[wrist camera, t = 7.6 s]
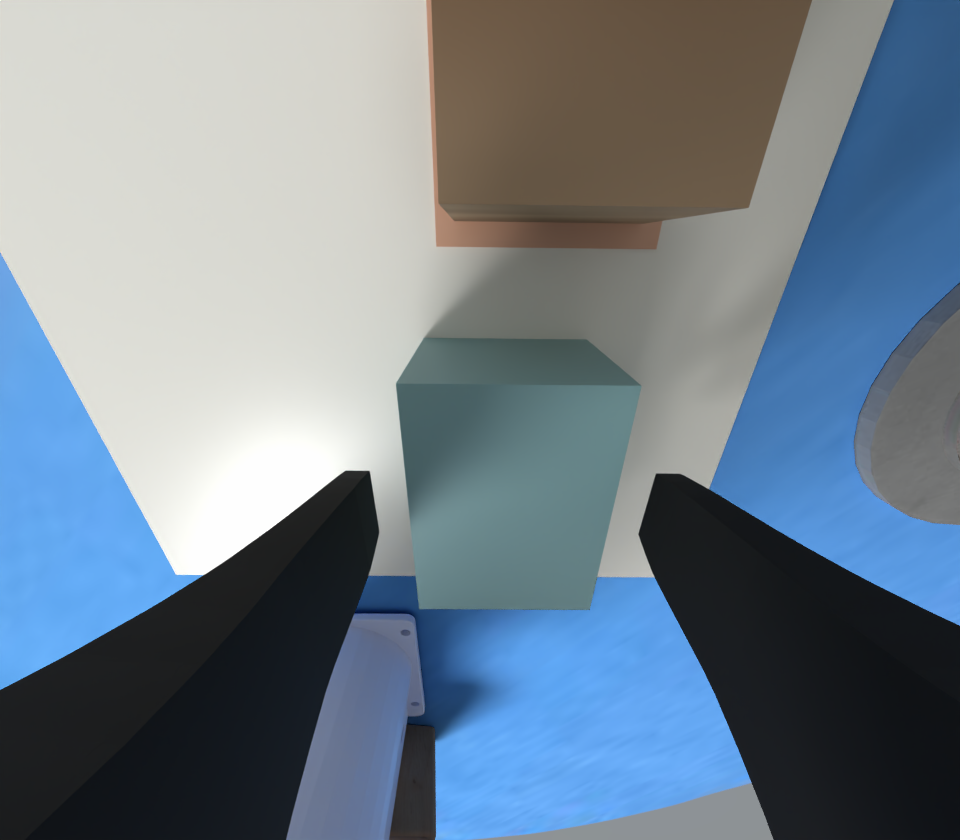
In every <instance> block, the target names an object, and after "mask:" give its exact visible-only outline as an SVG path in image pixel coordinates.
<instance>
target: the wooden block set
mask: <svg viewBox="0 0 960 840" xmlns="http://www.w3.org/2000/svg"><path fill="white" fill-rule="evenodd" d="M435 837H436V793H435V729H434V727H431V726H421V725H410V724H407V725H406V731H405V738H404V745H403V751H402V758H401V764H400V771H399V777H398V784H397V791H396V797H395V804H394V810H393V817H392V823H391V830H390V837H389V840H435Z"/></svg>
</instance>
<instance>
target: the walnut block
mask: <svg viewBox="0 0 960 840" xmlns="http://www.w3.org/2000/svg"><path fill="white" fill-rule="evenodd" d="M811 2H812V0H431V8H432V36H433V64H434V92H435V120H436V148H437V176H438V204H439V205H440V206H441V207H442V208H443V209H444V210H445V211H446V212H447V214H448V215H449V216H450V217H451V218H452V219H453V220H454V221H479V222H554V223H629V224H645V223H651V222H658V221H665V220H671V219H678V218H685V217H691V216H698V215H705V214H711V213H718V212H725V211H731V210H738V209H745V208H749V205H750V202H751V199H752V195H753V192H754V189H755V186H756V182H757V179H758V176H759V173H760V169H761V166H762V163H763V159H764V156H765V153H766V150H767V146H768V143H769V140H770V137H771V133H772V130H773V127H774V123H775V120H776V117H777V114H778V110H779V107H780V104H781V101H782V97H783V94H784V91H785V87H786V84H787V81H788V78H789V74H790V71H791V68H792V65H793V61H794V58H795V55H796V51H797V48H798V45H799V42H800V38H801V35H802V32H803V29H804V25H805V22H806V19H807V15H808V12H809V9H810V6H811Z"/></svg>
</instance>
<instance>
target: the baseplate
mask: <svg viewBox="0 0 960 840" xmlns="http://www.w3.org/2000/svg"><path fill="white" fill-rule="evenodd" d="M893 1H894V0H812V2H811V6H810V9H809V12H808V15H807V19H806V22H805V25H804V29H803V32H802V35H801V38H800V42H799V45H798V48H797V51H796V55H795V58H794V61H793V65H792V68H791V71H790V74H789V78H788V81H787V84H786V87H785V91H784V94H783V97H782V101H781V104H780V107H779V110H778V114H777V117H776V120H775V123H774V127H773V130H772V133H771V137H770V140H769V143H768V146H767V150H766V153H765V156H764V159H763V163H762V166H761V169H760V173H759V176H758V179H757V182H756V186H755V189H754V192H753V195H752V199H751V202H750V205H749V208H745V209H738V210H731V211H725V212H718V213H711V214H705V215H698V216H691V217H685V218H678V219H671V220H665V221H658V222H651V223H645V224H629V223H554V222H479V221H454V220H453V219H452V218H451V217H450V216H449V215H448V214H447V212H446V211H445V210H444V209H443V208H442V207H441V206H440V205H439V204H438V176H437V148H436V120H435V92H434V64H433V36H432V8H431V0H0V252H1V254H2V256H3V258H4V260H5V261H6V263H7V265H8V267H9V269H10V271H11V272H12V274H13V276H14V278H15V280H16V282H17V284H18V285H19V287H20V289H21V291H22V293H23V295H24V296H25V298H26V300H27V302H28V304H29V306H30V307H31V309H32V311H33V313H34V315H35V317H36V318H37V320H38V322H39V324H40V326H41V328H42V329H43V331H44V333H45V335H46V337H47V339H48V340H49V342H50V344H51V346H52V348H53V350H54V351H55V353H56V355H57V357H58V359H59V361H60V362H61V364H62V366H63V368H64V370H65V372H66V373H67V375H68V377H69V379H70V381H71V383H72V384H73V386H74V388H75V390H76V392H77V394H78V395H79V397H80V399H81V401H82V403H83V405H84V406H85V408H86V410H87V412H88V414H89V416H90V417H91V419H92V421H93V423H94V425H95V427H96V428H97V430H98V432H99V434H100V436H101V438H102V439H103V441H104V443H105V445H106V447H107V449H108V450H109V452H110V454H111V456H112V458H113V460H114V461H115V463H116V465H117V467H118V469H119V471H120V472H121V474H122V476H123V478H124V480H125V482H126V483H127V485H128V487H129V489H130V491H131V493H132V494H133V496H134V498H135V500H136V502H137V504H138V505H139V507H140V509H141V511H142V513H143V515H144V516H145V518H146V520H147V522H148V524H149V526H150V527H151V529H152V531H153V533H154V535H155V537H156V538H157V540H158V542H159V544H160V546H161V548H162V549H163V551H164V553H165V555H166V557H167V559H168V560H169V562H170V564H171V566H172V568H173V570H174V572H175V573H176V575H205V574H206V573H208V572H209V571H211V570H212V569H214V568H215V567H217V566H218V565H220V564H221V563H223V562H224V561H226V560H227V559H229V558H230V557H232V556H233V555H234V554H236V553H237V552H239V551H240V550H241V549H243V548H244V547H246V546H247V545H248V544H250V543H251V542H252V541H254V540H255V539H257V538H258V537H259V536H261V535H262V534H264V533H265V532H266V531H268V530H269V529H271V528H272V527H273V526H275V525H276V524H277V523H279V522H280V521H281V520H283V519H284V518H285V517H286V516H288V515H289V514H290V513H292V512H293V511H294V510H295V509H297V508H298V507H299V506H301V505H302V504H303V503H304V502H306V501H307V500H308V499H309V498H311V497H312V496H313V495H315V494H316V493H317V492H318V491H320V490H321V489H322V488H323V487H325V486H326V485H327V484H328V483H330V482H331V481H332V480H333V479H335V478H336V477H337V476H339V475H340V474H341V473H343V472H344V471H370V475H371V482H372V488H373V494H374V500H375V507H376V513H377V519H378V525H379V537H378V541H377V545H376V550H375V554H374V558H373V562H372V566H371V570H370V572H369V575H368V576H416V575H415V565H414V555H413V546H412V536H411V526H410V517H409V507H408V497H407V488H406V478H405V468H404V458H403V449H402V439H401V429H400V420H399V410H398V400H397V391H396V382H397V381H398V379H399V377H400V376H401V374H402V373H403V371H404V369H405V368H406V366H407V364H408V363H409V361H410V360H411V358H412V356H413V355H414V353H415V351H416V350H417V348H418V347H419V345H420V343H421V342H422V340H423V338H495V339H587V340H588V341H589V342H590V343H592V344H593V345H594V346H595V347H596V348H598V349H599V350H600V351H601V352H602V353H603V354H605V355H606V356H607V357H608V358H609V359H611V360H612V361H613V362H614V363H615V364H616V365H618V366H619V367H620V368H621V369H622V370H624V371H625V372H626V373H627V374H628V375H629V376H631V377H632V378H633V379H634V380H635V381H637V382H638V383H639V384H640V385H641V386H642V387H641V391H640V395H639V400H638V404H637V408H636V413H635V417H634V421H633V425H632V430H631V434H630V438H629V443H628V447H627V451H626V456H625V460H624V464H623V468H622V473H621V477H620V481H619V486H618V490H617V494H616V498H615V503H614V507H613V511H612V516H611V520H610V524H609V528H608V533H607V537H606V541H605V546H604V550H603V554H602V559H601V563H600V567H599V571H598V576H597V577H654V575H653V573H652V570H651V568H650V565H649V563H648V560H647V558H646V555H645V552H644V549H643V546H642V544H641V541H640V538H639V535H638V533H639V530H640V526H641V523H642V519H643V516H644V513H645V509H646V506H647V502H648V499H649V495H650V492H651V488H652V485H653V482H654V478H655V475H656V473H668V474H682V475H684V476H686V477H688V478H690V479H692V480H693V481H695V482H697V483H699V484H701V485H702V486H704V487H706V488H707V489H709V487H710V485H711V482H712V480H713V477H714V474H715V472H716V469H717V466H718V464H719V461H720V458H721V456H722V453H723V450H724V448H725V445H726V443H727V440H728V437H729V435H730V432H731V429H732V427H733V424H734V421H735V419H736V416H737V413H738V411H739V408H740V406H741V403H742V400H743V398H744V395H745V392H746V390H747V387H748V384H749V382H750V379H751V377H752V374H753V371H754V369H755V366H756V363H757V361H758V358H759V355H760V353H761V350H762V347H763V345H764V342H765V340H766V337H767V334H768V332H769V329H770V326H771V324H772V321H773V318H774V316H775V313H776V310H777V308H778V305H779V303H780V300H781V297H782V295H783V292H784V289H785V287H786V284H787V281H788V279H789V276H790V273H791V271H792V268H793V266H794V263H795V260H796V258H797V255H798V252H799V250H800V247H801V244H802V242H803V239H804V236H805V234H806V231H807V229H808V226H809V223H810V221H811V218H812V215H813V213H814V210H815V207H816V205H817V202H818V199H819V197H820V194H821V192H822V189H823V186H824V184H825V181H826V178H827V176H828V173H829V170H830V168H831V165H832V162H833V160H834V157H835V155H836V152H837V149H838V147H839V144H840V141H841V139H842V136H843V133H844V131H845V128H846V125H847V123H848V120H849V118H850V115H851V112H852V110H853V107H854V104H855V102H856V99H857V96H858V94H859V91H860V88H861V86H862V83H863V81H864V78H865V75H866V73H867V70H868V67H869V65H870V62H871V59H872V57H873V54H874V51H875V49H876V46H877V44H878V41H879V38H880V36H881V33H882V30H883V28H884V25H885V22H886V20H887V17H888V14H889V12H890V9H891V7H892V4H893Z"/></svg>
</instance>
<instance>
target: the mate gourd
mask: <svg viewBox="0 0 960 840" xmlns="http://www.w3.org/2000/svg"><path fill="white" fill-rule="evenodd" d="M854 449H855V463H856V466H857V469H858V471H859V473H860V476H861V478H862V481H863V483H864V484H865V485H866V486H867V487H868V488H869V489H870V490H871V491H872V492H873V494H874V495H875V496H876V497H878V498H879V499H881V500H883V501H884V502H886V503H887V504H889V505H891V506H892V507H894V508H896V509H897V510H899V511H901V512H903V513H904V514H906V515H908V516H910V517H913V518H916V519H920V520H924V521H928V522H931V523H940V524H954V525H960V284H958V285H957V286H956V287H955V288H954V289H953V290H952V291H951V292H949V293H948V294H947V295H946V296H945V297H944V298H943V299H942V300H941V301H940V302H939V303H938V304H937V305H936V306H935V307H934V308H932V309H931V310H930V311H929V312H928V313H927V314H926V315H925V316H924V317H923V318H922V319H921V320H920V321H919V322H918V323H917V324H916V326H915V327H914V328H913V329H912V330H911V332H910V333H909V334H908V335H907V336H906V338H905V339H904V340H903V341H902V342H901V343H900V345H899V346H898V347H897V348H896V349H895V351H894V352H893V353H892V354H891V356H890V358H889V359H888V361H887V362H886V364H885V365H884V367H883V369H882V370H881V372H880V373H879V375H878V377H877V378H876V380H875V381H874V383H873V384H872V386H871V388H870V391H869V393H868V396H867V398H866V400H865V403H864V405H863V407H862V410H861V412H860V414H859V418H858V423H857V429H856V434H855V439H854Z"/></svg>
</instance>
